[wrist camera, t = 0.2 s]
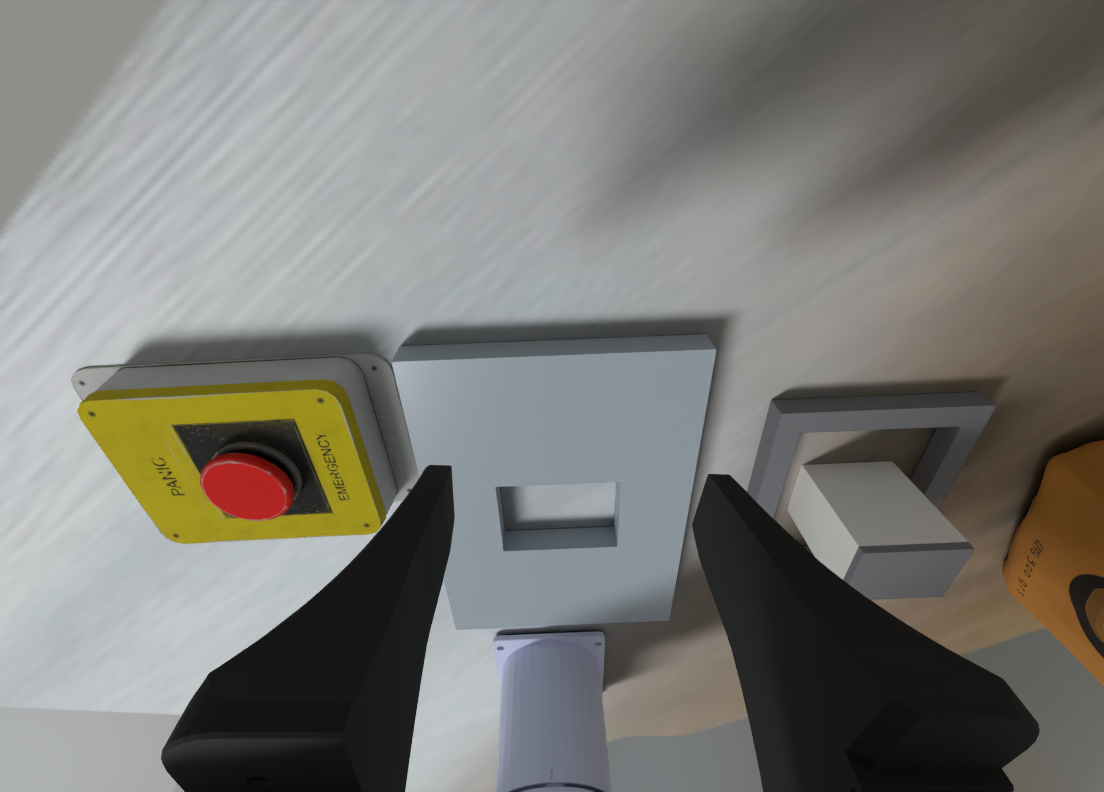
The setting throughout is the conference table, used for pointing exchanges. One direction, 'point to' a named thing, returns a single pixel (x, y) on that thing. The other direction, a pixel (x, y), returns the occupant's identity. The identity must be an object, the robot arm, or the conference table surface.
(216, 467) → the emergency button
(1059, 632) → the coffee package
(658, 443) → the port plate
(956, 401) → the grey square frame
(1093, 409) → the conference table surface
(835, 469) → the grey block
